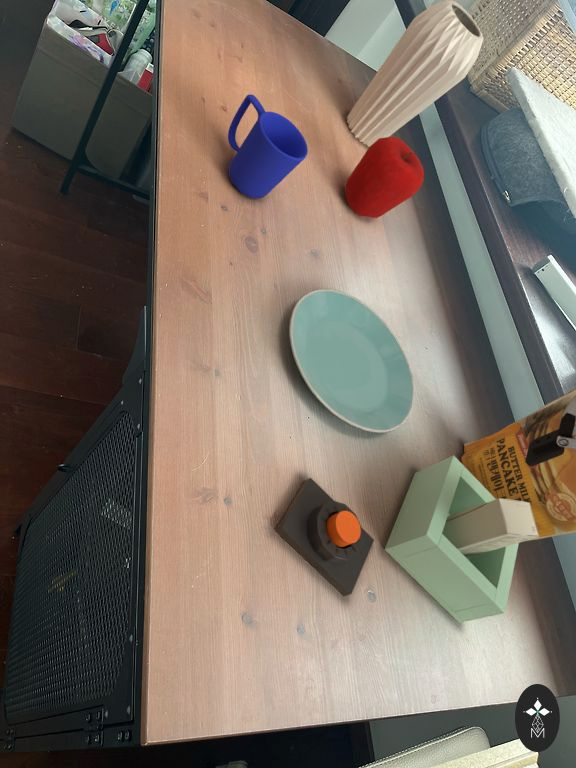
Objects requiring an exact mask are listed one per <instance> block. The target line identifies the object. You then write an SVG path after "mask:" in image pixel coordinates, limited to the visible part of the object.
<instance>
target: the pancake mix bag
mask: <svg viewBox="0 0 576 768" xmlns="http://www.w3.org/2000/svg"><path fill="white" fill-rule="evenodd" d="M575 395H576V388H574V389H572V390H570V391H568V392H567V393H565V394H563V395H561V396H559V397H558V398H556V399H554V400H551V401H550V402H548V403H546V404H544V405H542V406H541V407H539V408H538V409H537V410H535V411H534V412H531V413H530V414H528V415H525V416H524V417H522V418H521V419H518V420H517V421H514V422H512V423H510V424H508V425H507V426H506V427H504V428H502V429H500V430H499V431H497V432H494V433H493V434H490V435H487V436H485V437H482V438H480V439H476V440H474V441H469V442H464V443H463V449H464V452H463V454H462V455H461V456H460V462H461V463H462V464H463V466H464V467H465V468H466V469H467V470H468V471H469V472H470V473H471V474H472V475H473V476H474V477H475V478H476V479H477V480H478V481H479V482H480V483H481V484H482V485H483V486H484V487H485V488H486V489H487V490H488V492H489V493H490V494H491V495H492V496H493V497H494V498H495V499H499V498H500V499H510V500H517V501H523V502H528V503H530V506H531V510H532V513H533V517H534V520H535V524H536V527H537V531H538V534H539V537H537V538H534V539H530V540H527V541H526V542H528V541H538V540H541V539H546V538H552V537H556V536H565V535H572V534H576V449H570V448H565V449H564V453H563V454H562V455H560V456H558V457H555V458H553V459H550V460H547V461H545V462H542V463H540V464H537V465H535V466H528V465H527V463H526V462H525V460H526V456H527V452H528V448H529V445H530V443H531V442H532V441H533V440H534V439H536V438H539V437H541V436H543V435H546V434H548V433H550V432H553V431H555V430H557V429H559V426H560V422H561V418H562V414H563V410H564V409H565V408H566V407H567V406H568V404H569V403H570V401H571V400H572V399H573V397H574V396H575ZM572 436H576V435H573V434H572Z"/></svg>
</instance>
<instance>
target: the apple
mask: <svg viewBox="0 0 576 768" xmlns="http://www.w3.org/2000/svg"><path fill="white" fill-rule="evenodd" d="M424 176H425V171H424V167H423V165H422V163H421V161H420V158H419V157H418V156H417V155H416V153H415V151H413V150H412V149H411V147H409V146H408V144H407V143H405V141H403V140H402V139H401V138H399V137H396V136H389V137H386V138H379V139H378V140H377V141H376V142H375V143H373V144H372V145H371V146H370V147H368V148H367V150H366V151H365V153H364V154H363V156H362V157H361V159H360V160H359V162H358V163H357V165H356V166H355V168H354V169H353V171H352V172H351V173H350V175H349V176H348V177H347V179H346V181H345V199H346V202H347V204H348V206H349V207H350V209H351V210H352V211H353V213H354V214H356V215H358V216H360V217H366V218H372V219H378V218H380V217H382V216H385V214H387V213H388V212H390V211H392V210H393V209H394V208H396V207H398V206H399V205H401V204H403V203H404V202H405V201H407V200H409V199H410V198H413V196H414V195H415V194H416V193H417V192H418V191H419V190H420V189H421V188H422V186H423V183H424V178H425V177H424Z"/></svg>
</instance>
